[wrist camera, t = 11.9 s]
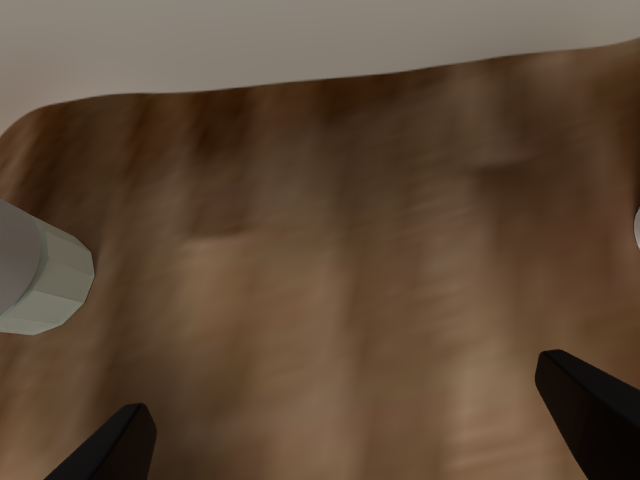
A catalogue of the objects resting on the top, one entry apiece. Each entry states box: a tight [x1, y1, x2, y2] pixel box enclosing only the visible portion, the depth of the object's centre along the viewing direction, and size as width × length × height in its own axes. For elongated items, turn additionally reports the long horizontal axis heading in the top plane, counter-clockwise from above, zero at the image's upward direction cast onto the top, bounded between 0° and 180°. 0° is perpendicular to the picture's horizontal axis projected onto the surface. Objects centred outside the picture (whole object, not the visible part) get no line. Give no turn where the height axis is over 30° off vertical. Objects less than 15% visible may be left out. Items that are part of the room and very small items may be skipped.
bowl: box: [0, 214, 95, 335], centre depth 22 cm, size 7×7×4 cm
